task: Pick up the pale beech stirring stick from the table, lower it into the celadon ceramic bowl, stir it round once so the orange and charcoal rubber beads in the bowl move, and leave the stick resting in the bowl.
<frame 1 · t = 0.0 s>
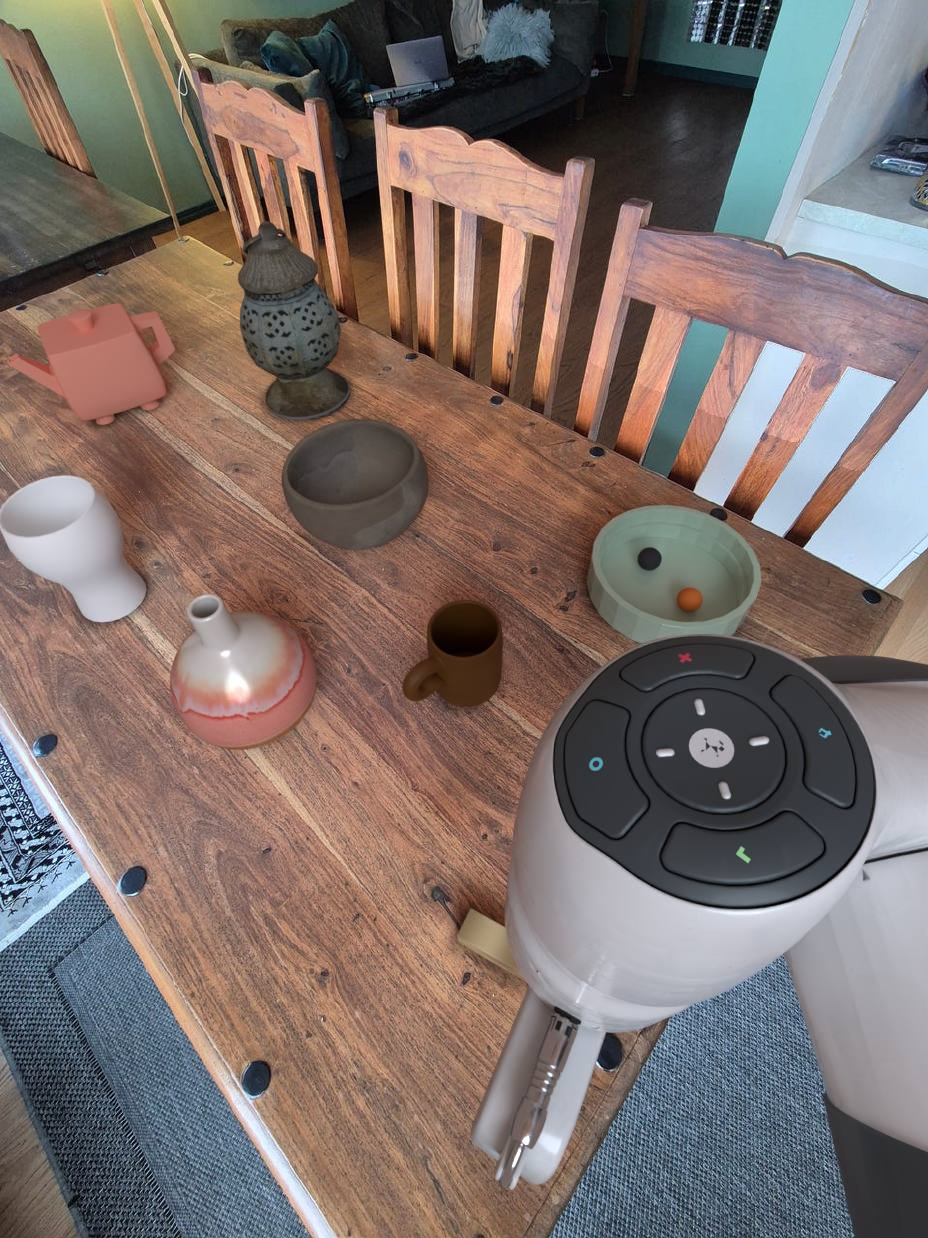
hand: (571, 963, 39), 16 cm above the table, tool pointing down, fingers open, 8 cm apart
mug: (452, 693, 69), on the table
stick: (517, 959, 53), on the table
cup: (114, 598, 78), on the table
bowl: (364, 520, 85), on the table
bead b: (647, 566, 78), point 1 cm above the table, touching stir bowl
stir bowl: (665, 589, 76), on the table
teapot: (120, 403, 102), on the table
lantern: (307, 394, 102), on the table
bead a: (686, 607, 74), point 1 cm above the table, touching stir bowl
vase: (262, 710, 68), on the table
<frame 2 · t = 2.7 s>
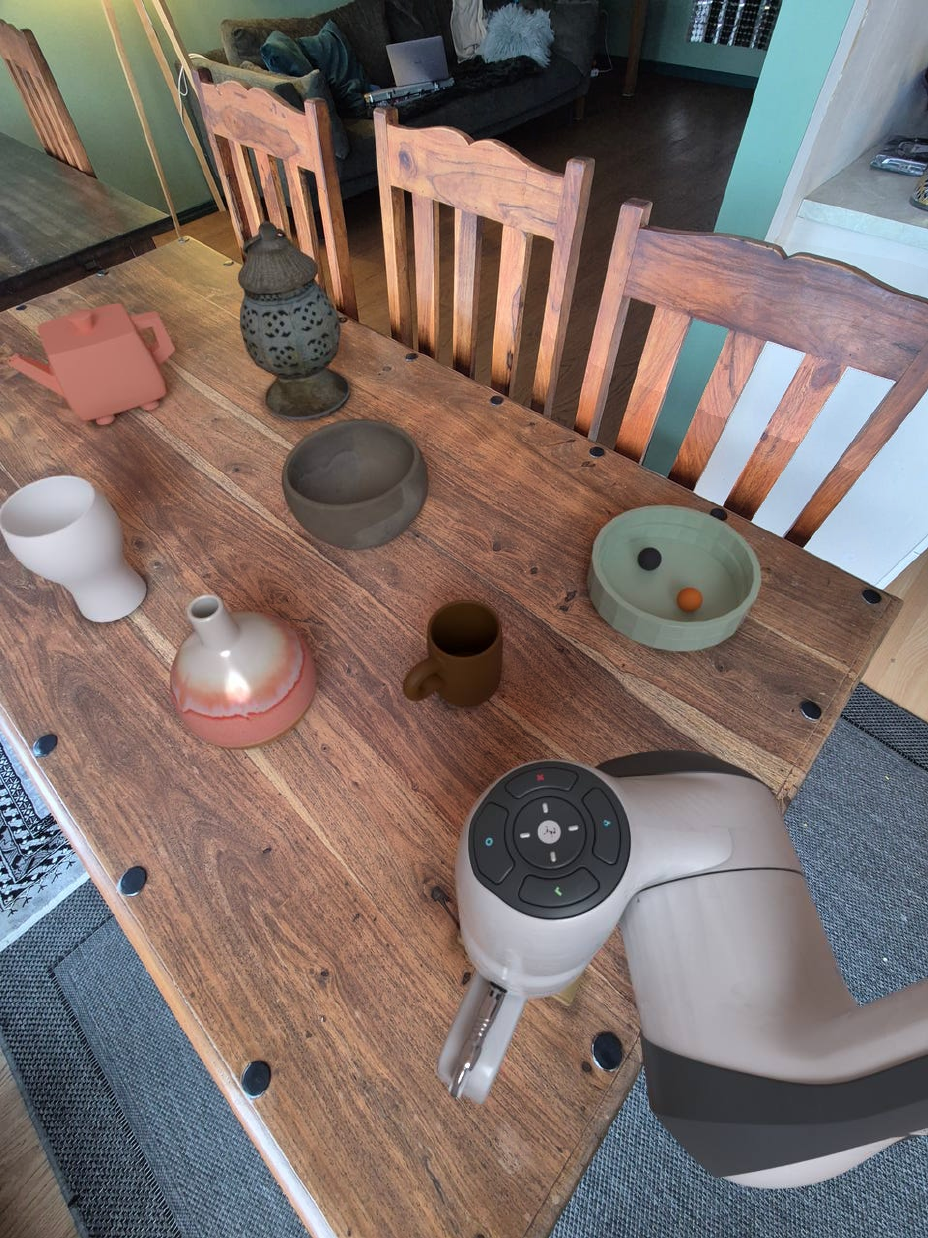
hand: (519, 955, 51), 2 cm above the table, tool pointing down, fingers closed on stick, 2 cm apart
stick: (517, 959, 53), on the table, touching gripper
everything else where it was.
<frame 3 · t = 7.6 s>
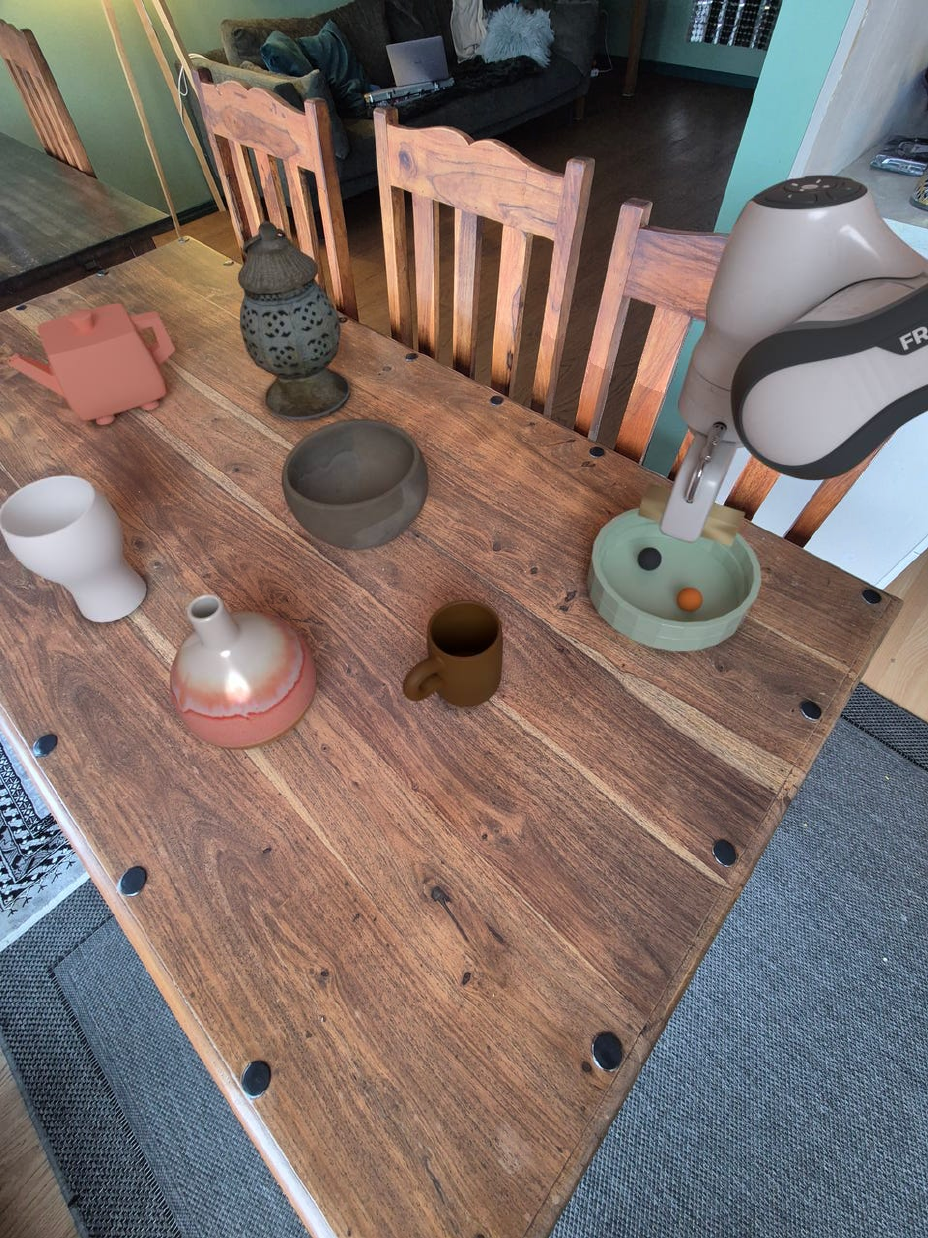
hand: (691, 512, 66), 13 cm above the table, tool pointing down, fingers closed on stick, 2 cm apart
stick: (686, 523, 68), point 11 cm above the table, touching gripper
everything else where it was.
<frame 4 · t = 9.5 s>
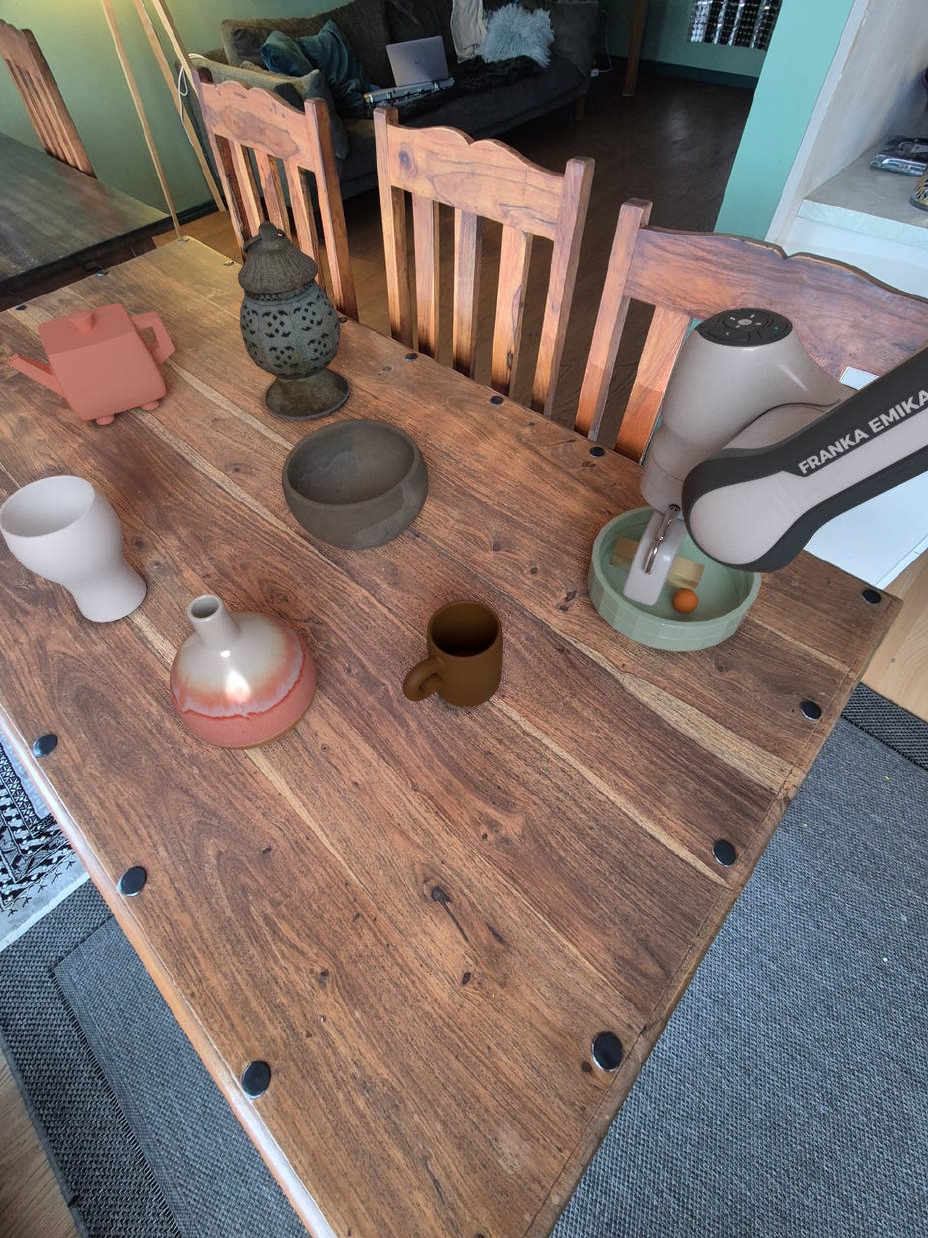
hand: (655, 568, 74), 3 cm above the table, tool pointing down, fingers closed on stick, 3 cm apart
stick: (652, 570, 75), point 3 cm above the table, tilted 12°, touching bead b, gripper
bead b: (646, 565, 77), point 1 cm above the table, tilted 35°, touching stick, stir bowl
bead a: (686, 607, 74), point 1 cm above the table, tilted 22°, touching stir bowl
everything else where it was.
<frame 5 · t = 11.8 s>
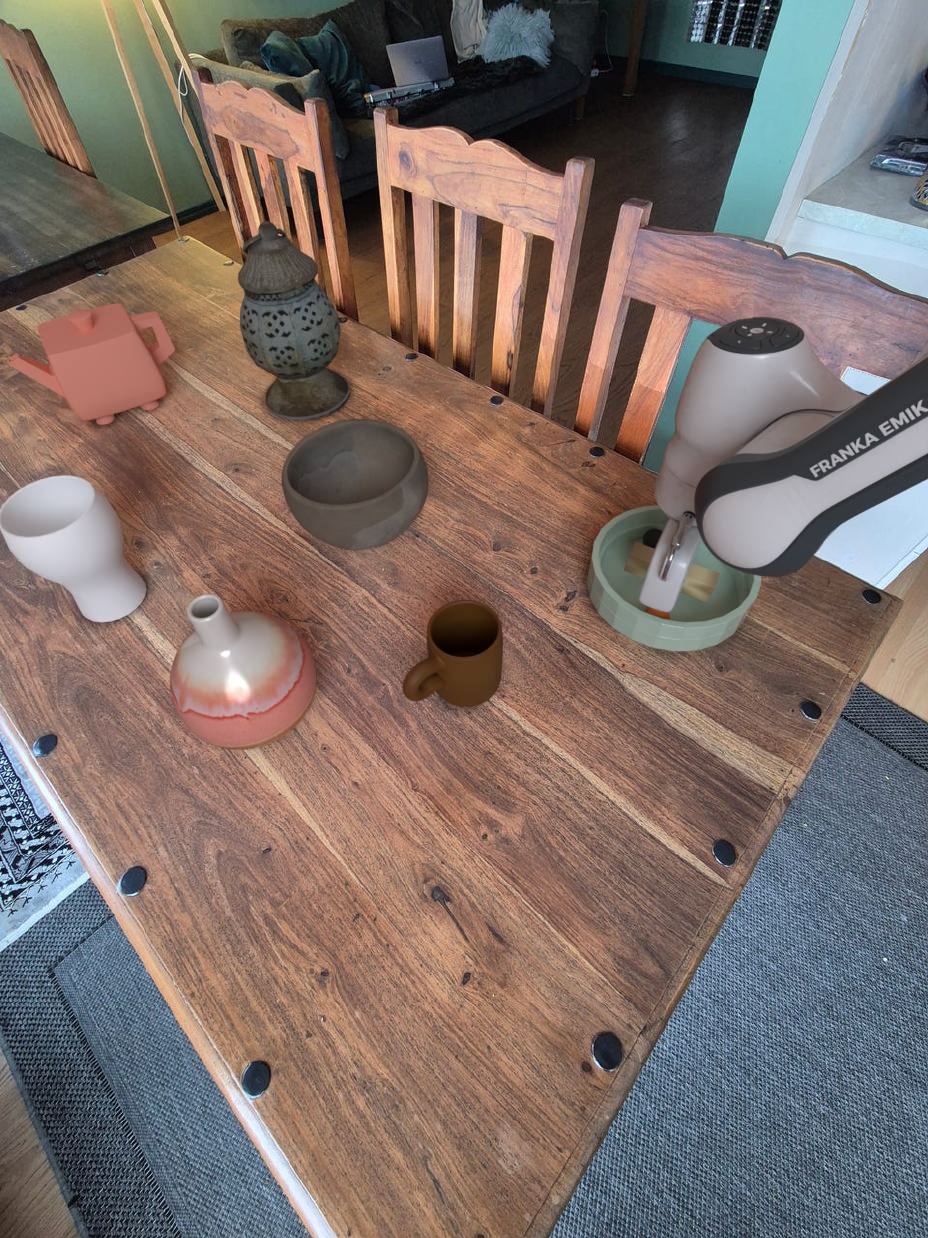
hand: (670, 576, 74), 3 cm above the table, tool pointing down, fingers closed on stick, 2 cm apart
stick: (667, 579, 75), point 2 cm above the table, touching gripper
bead b: (650, 539, 77), point 3 cm above the table, tilted 128°, touching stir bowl
bead a: (645, 611, 72), point 2 cm above the table, tilted 85°, touching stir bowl
everything else where it was.
when the fingers open (1 cm above the table, at t = 12.4 s): stick stays where it is, resting on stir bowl.
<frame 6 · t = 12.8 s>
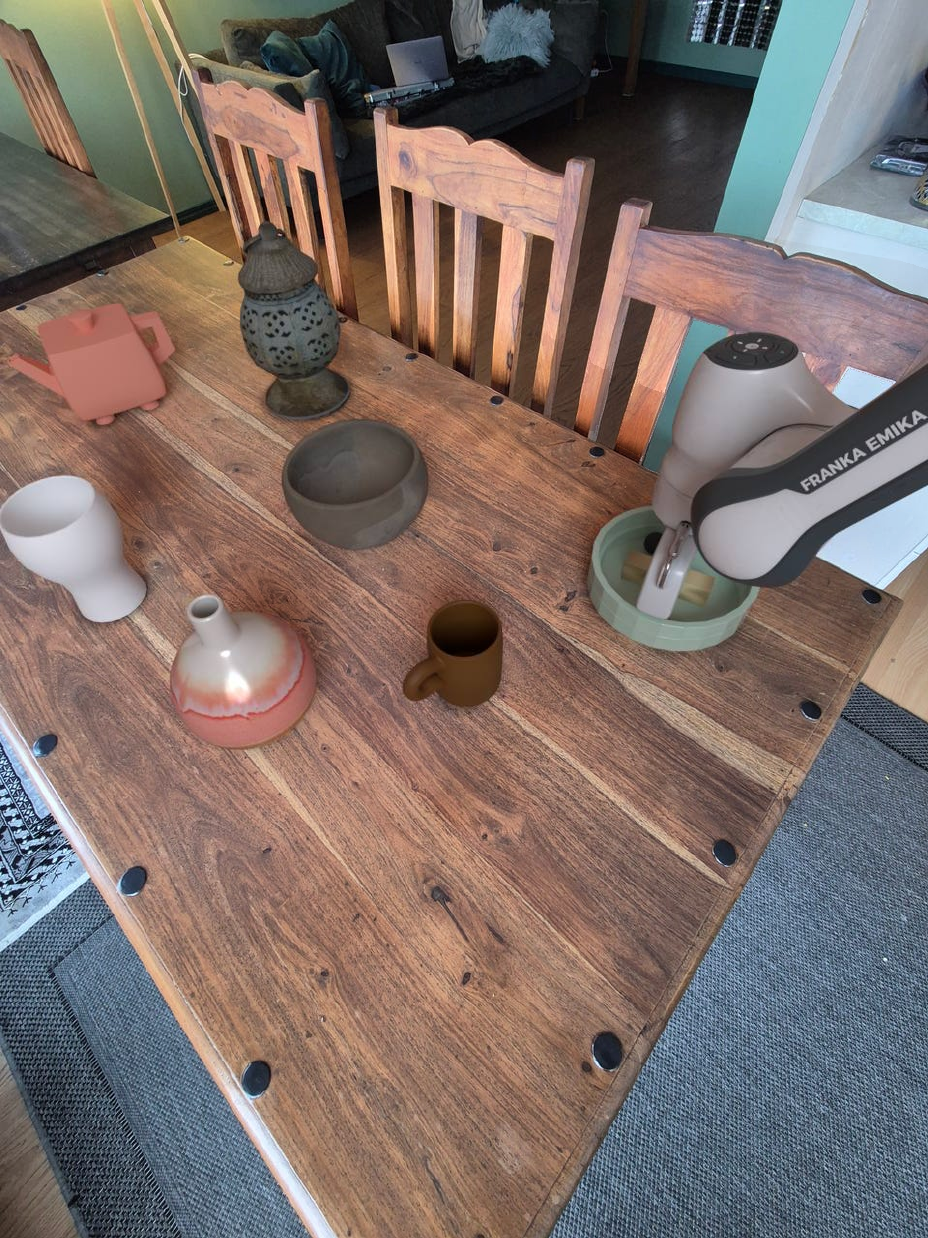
hand: (667, 583, 75), 1 cm above the table, tool pointing down, fingers open, 6 cm apart
stick: (664, 585, 76), point 1 cm above the table, touching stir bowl
bead b: (651, 546, 77), point 3 cm above the table, tilted 112°, touching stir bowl
bead a: (645, 609, 72), point 2 cm above the table, tilted 81°, touching gripper, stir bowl
everything else where it was.
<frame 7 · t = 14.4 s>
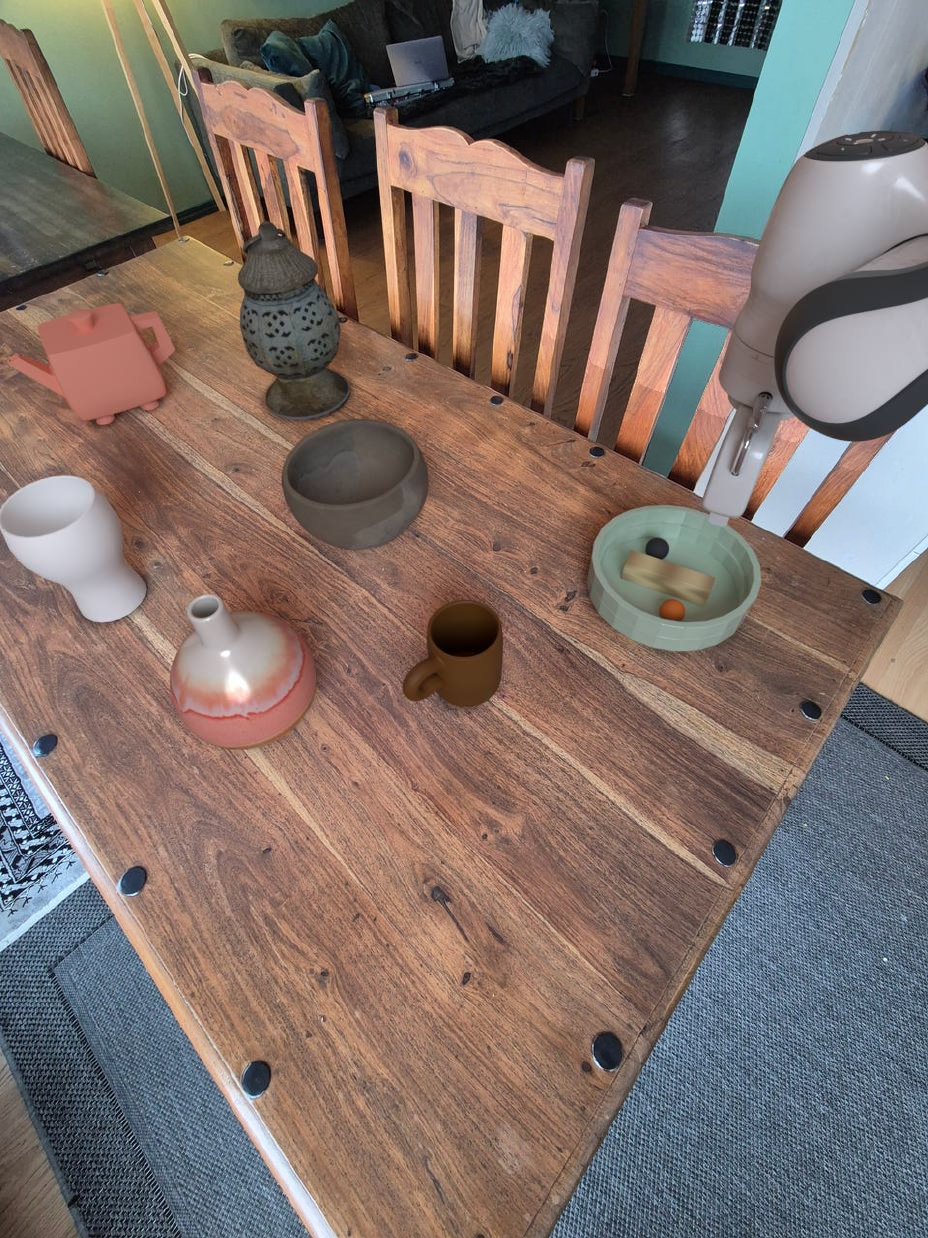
hand: (729, 491, 65), 15 cm above the table, tool pointing down, fingers open, 8 cm apart
bead b: (651, 557, 77), point 2 cm above the table, tilted 82°, touching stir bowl
bead a: (664, 603, 73), point 2 cm above the table, tilted 83°, touching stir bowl
everything else where it was.
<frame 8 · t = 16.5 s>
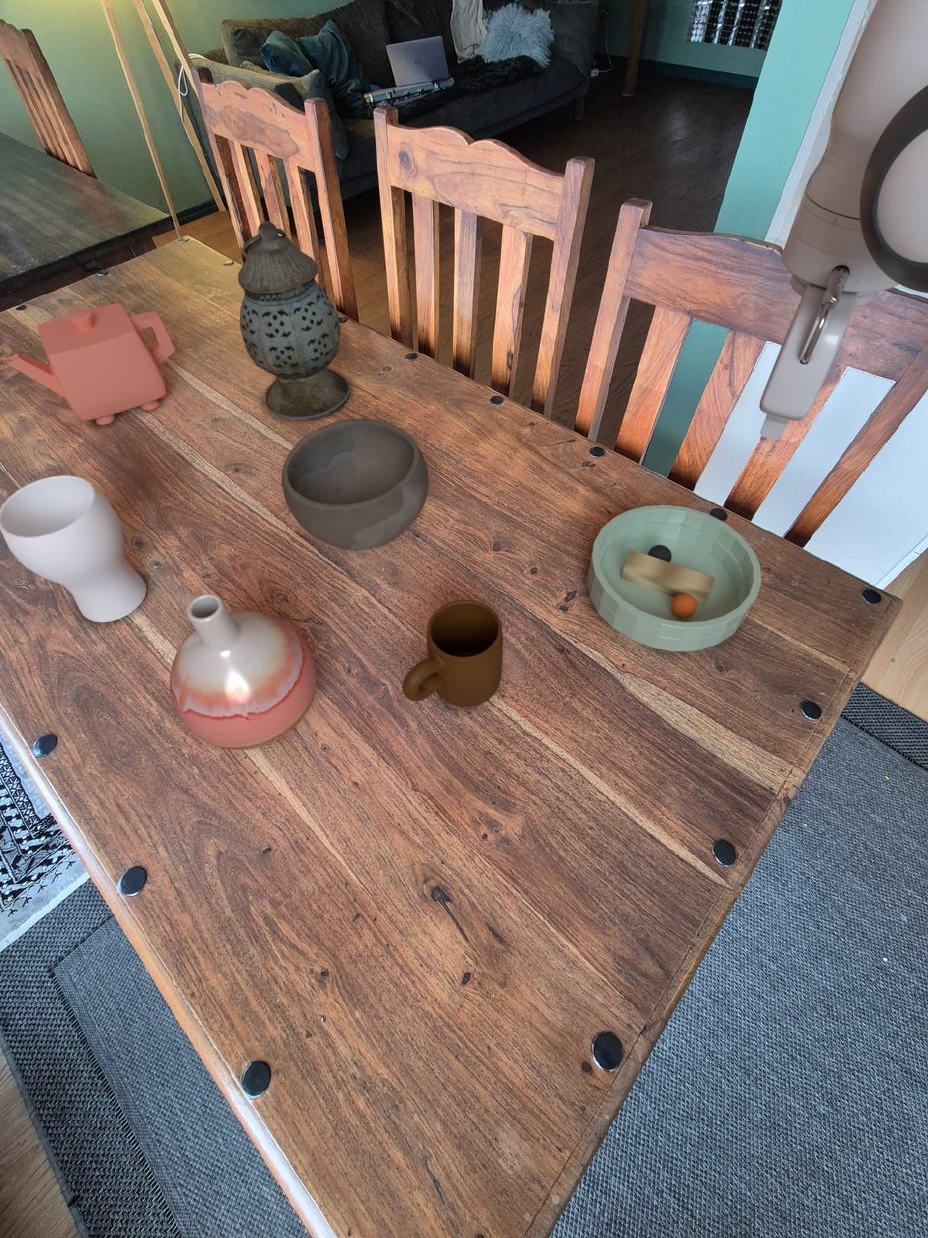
hand: (781, 404, 58), 24 cm above the table, tool pointing down, fingers open, 8 cm apart
bead b: (651, 565, 77), point 1 cm above the table, tilted 46°, touching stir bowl
bead a: (673, 599, 73), point 2 cm above the table, tilted 88°, touching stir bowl
everything else where it was.
at the end: bead a moved 2.3 cm from its start; bead a inside the target area in the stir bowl (3.1 cm from its centre), point 2.0 cm above the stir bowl's base; stick inside the target area in the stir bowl (0.2 cm from its centre), point 0.6 cm above the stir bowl's base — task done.
